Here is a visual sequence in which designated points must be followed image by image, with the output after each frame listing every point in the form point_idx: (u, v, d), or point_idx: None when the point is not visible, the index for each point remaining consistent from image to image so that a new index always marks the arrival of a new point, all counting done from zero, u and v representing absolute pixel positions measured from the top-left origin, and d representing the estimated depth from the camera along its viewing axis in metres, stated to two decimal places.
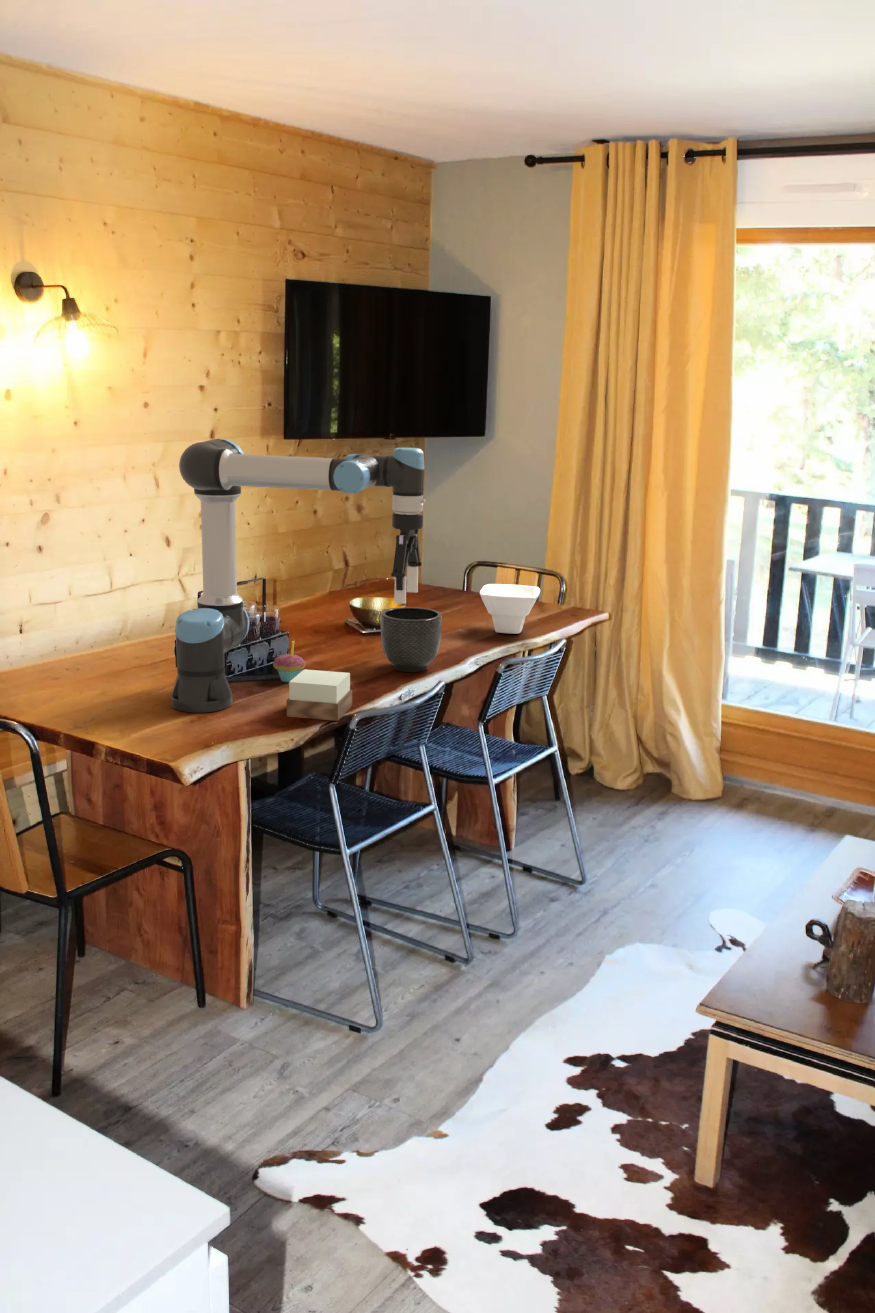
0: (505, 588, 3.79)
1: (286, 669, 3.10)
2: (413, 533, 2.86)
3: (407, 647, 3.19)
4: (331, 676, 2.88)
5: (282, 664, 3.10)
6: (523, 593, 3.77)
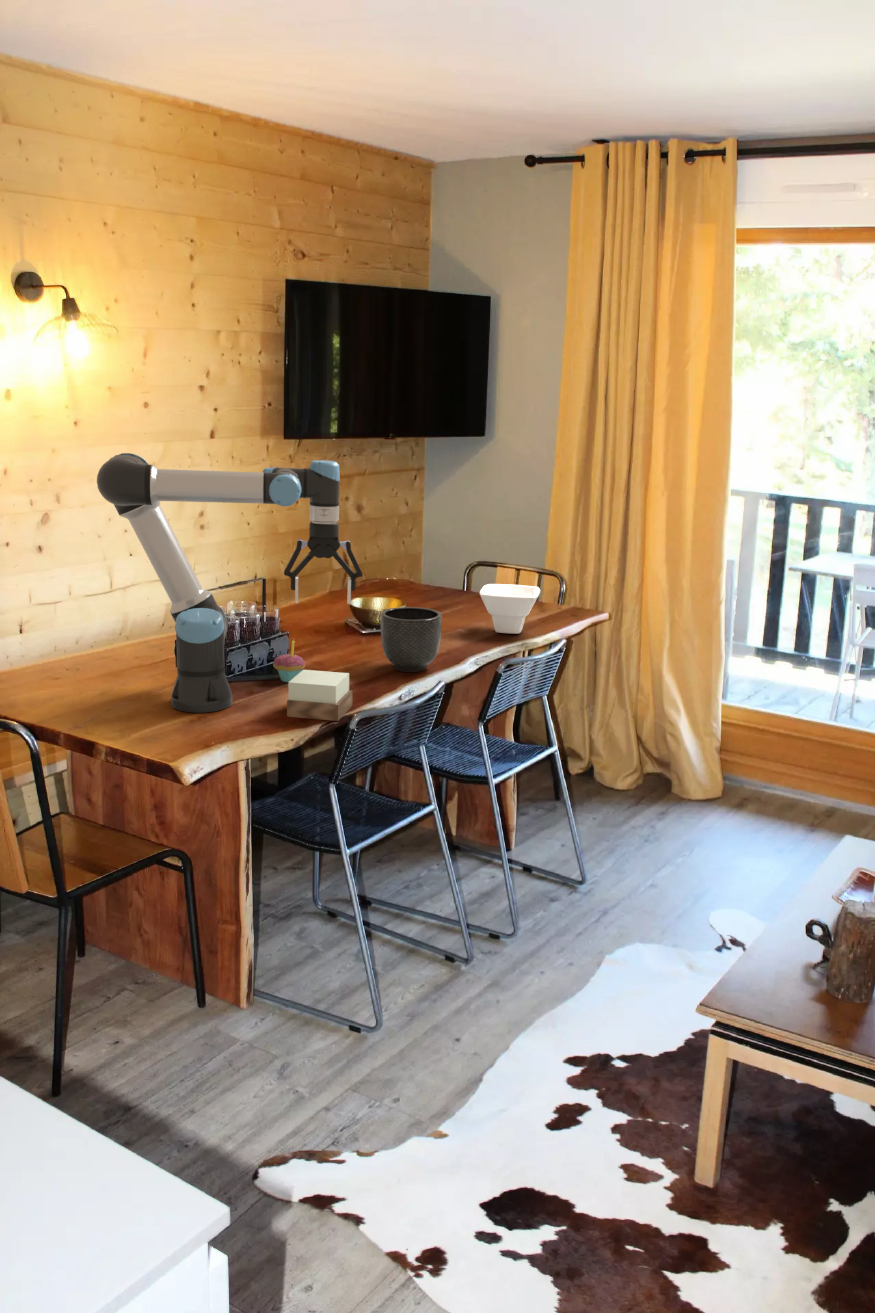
0: (505, 588, 3.79)
1: (286, 669, 3.10)
2: (331, 543, 2.98)
3: (407, 647, 3.19)
4: (330, 677, 2.88)
5: (282, 664, 3.10)
6: (523, 593, 3.77)
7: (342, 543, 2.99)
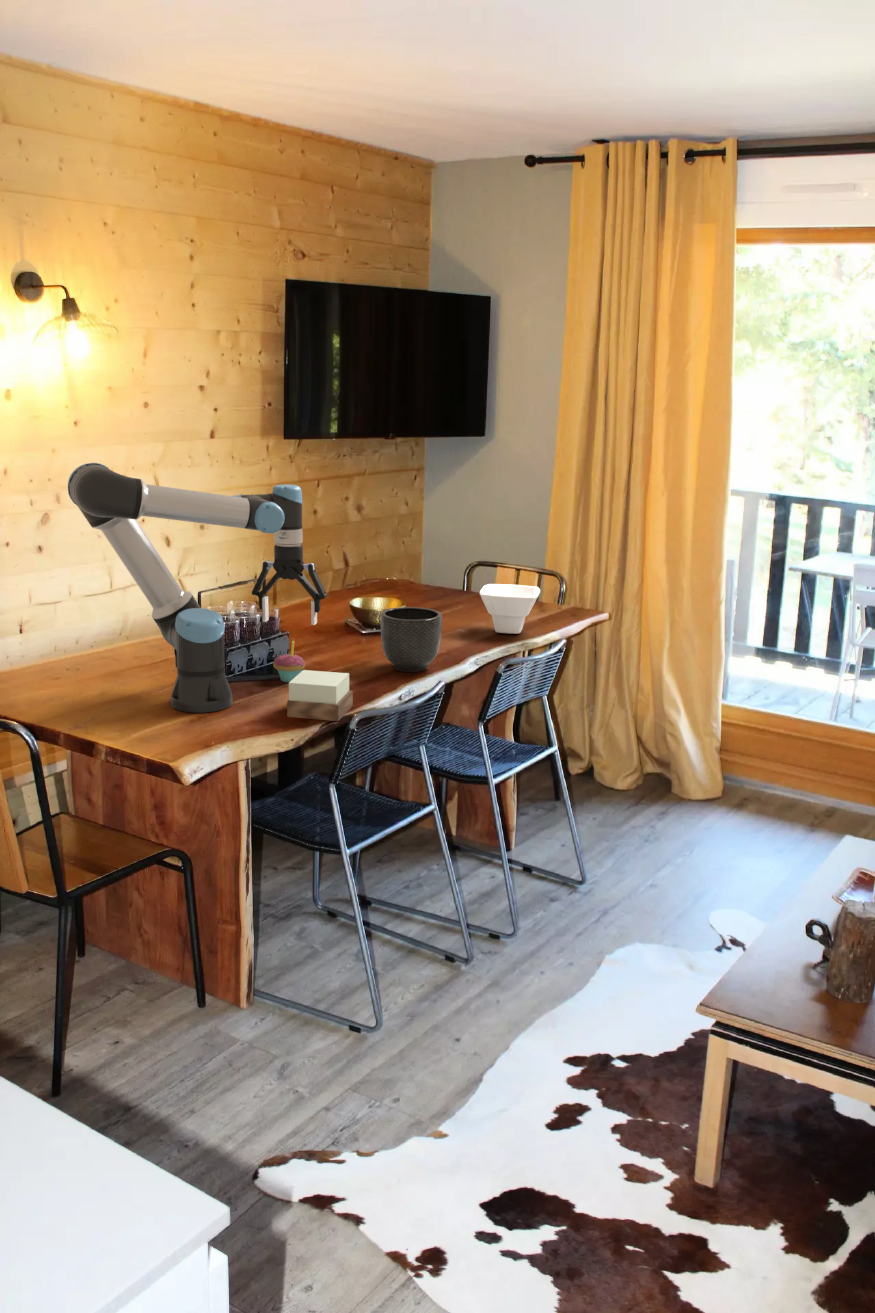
0: (505, 588, 3.79)
1: (286, 669, 3.10)
2: (294, 565, 3.05)
3: (407, 647, 3.19)
4: (330, 677, 2.88)
5: (282, 664, 3.10)
6: (523, 593, 3.77)
7: (305, 565, 3.05)
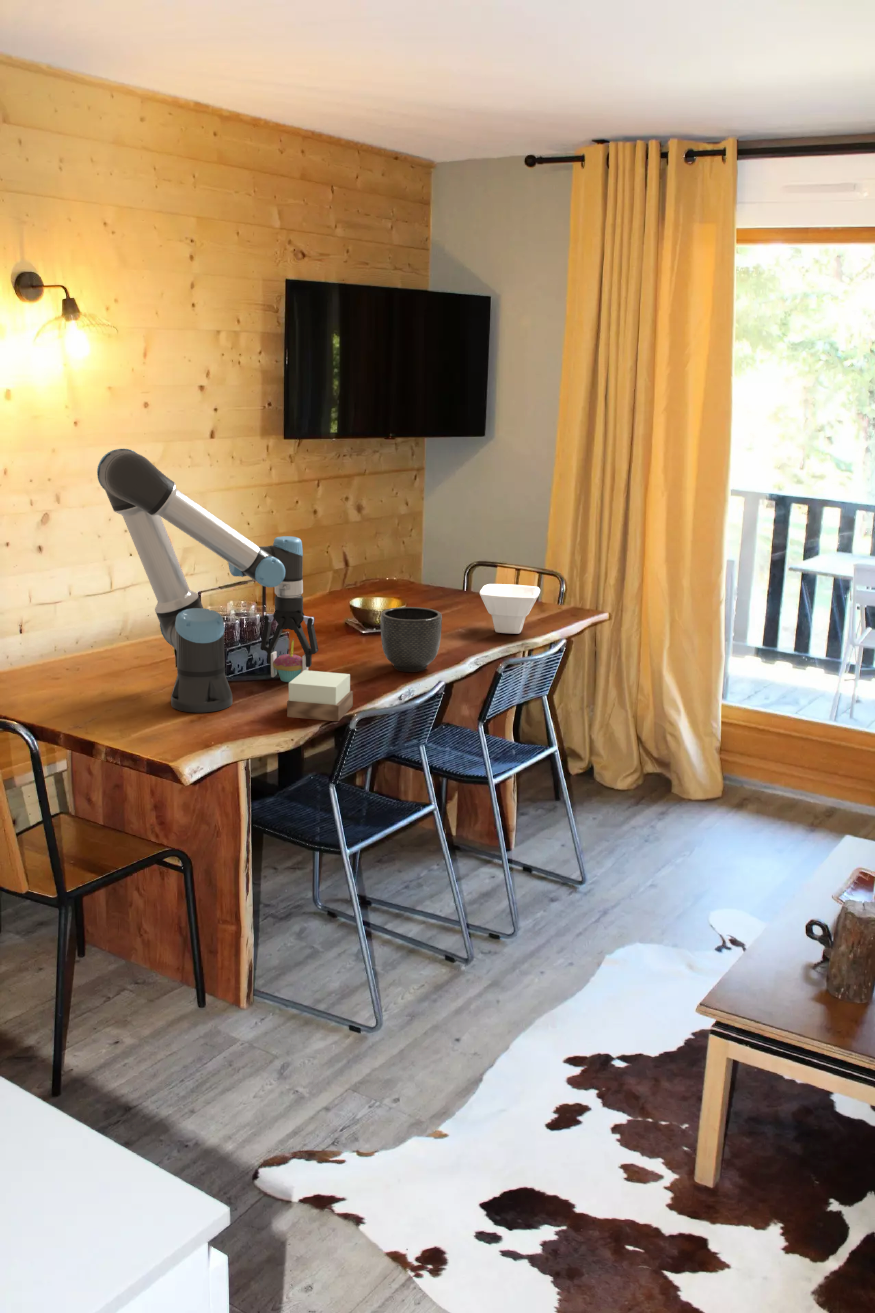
0: (505, 588, 3.79)
1: (286, 669, 3.10)
2: (294, 615, 3.09)
3: (407, 647, 3.19)
4: (331, 677, 2.87)
5: (282, 664, 3.10)
6: (523, 593, 3.77)
7: (305, 618, 3.09)
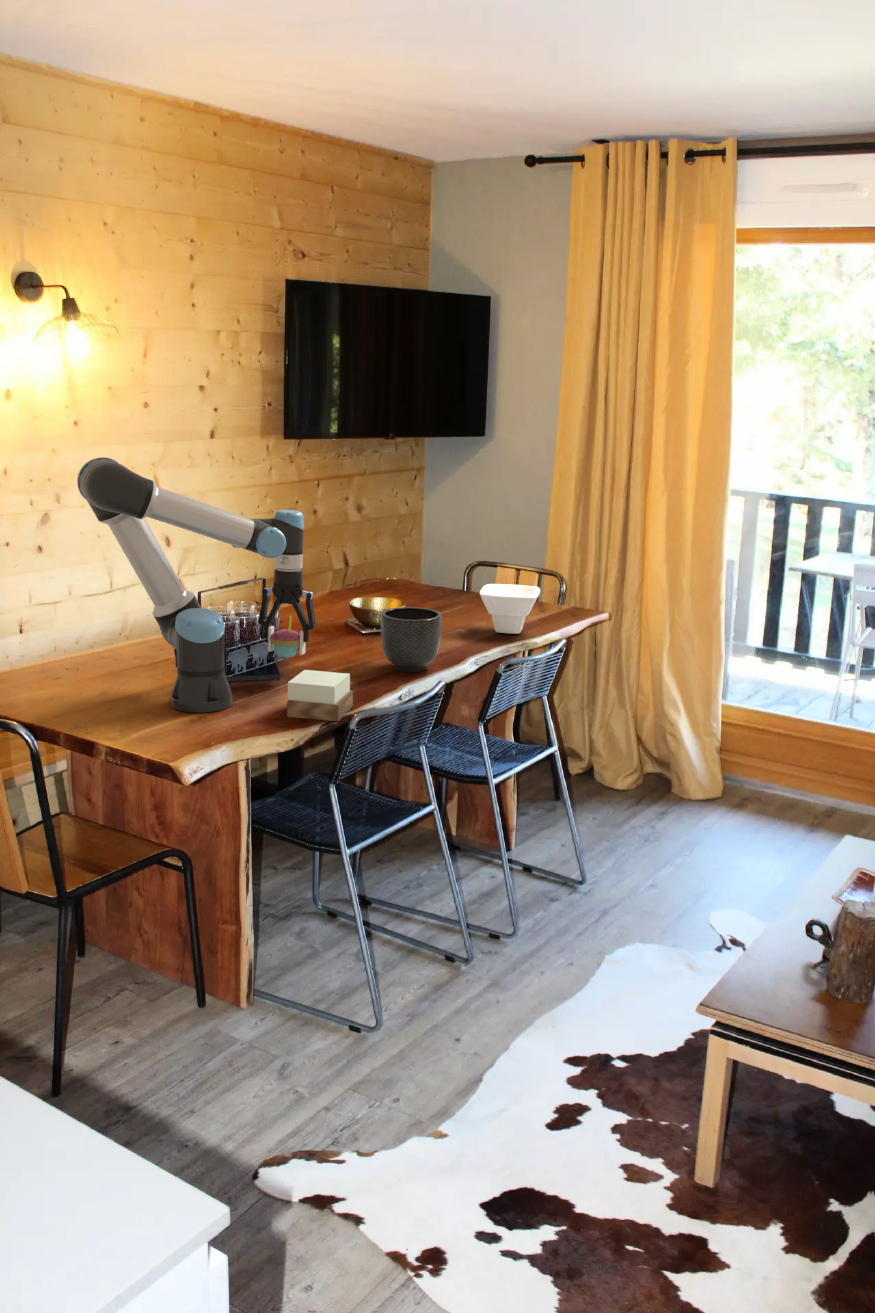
0: (505, 588, 3.79)
1: (283, 643, 3.08)
2: (293, 589, 3.07)
3: (407, 647, 3.19)
4: (330, 677, 2.87)
5: (279, 638, 3.08)
6: (523, 593, 3.77)
7: (304, 592, 3.07)
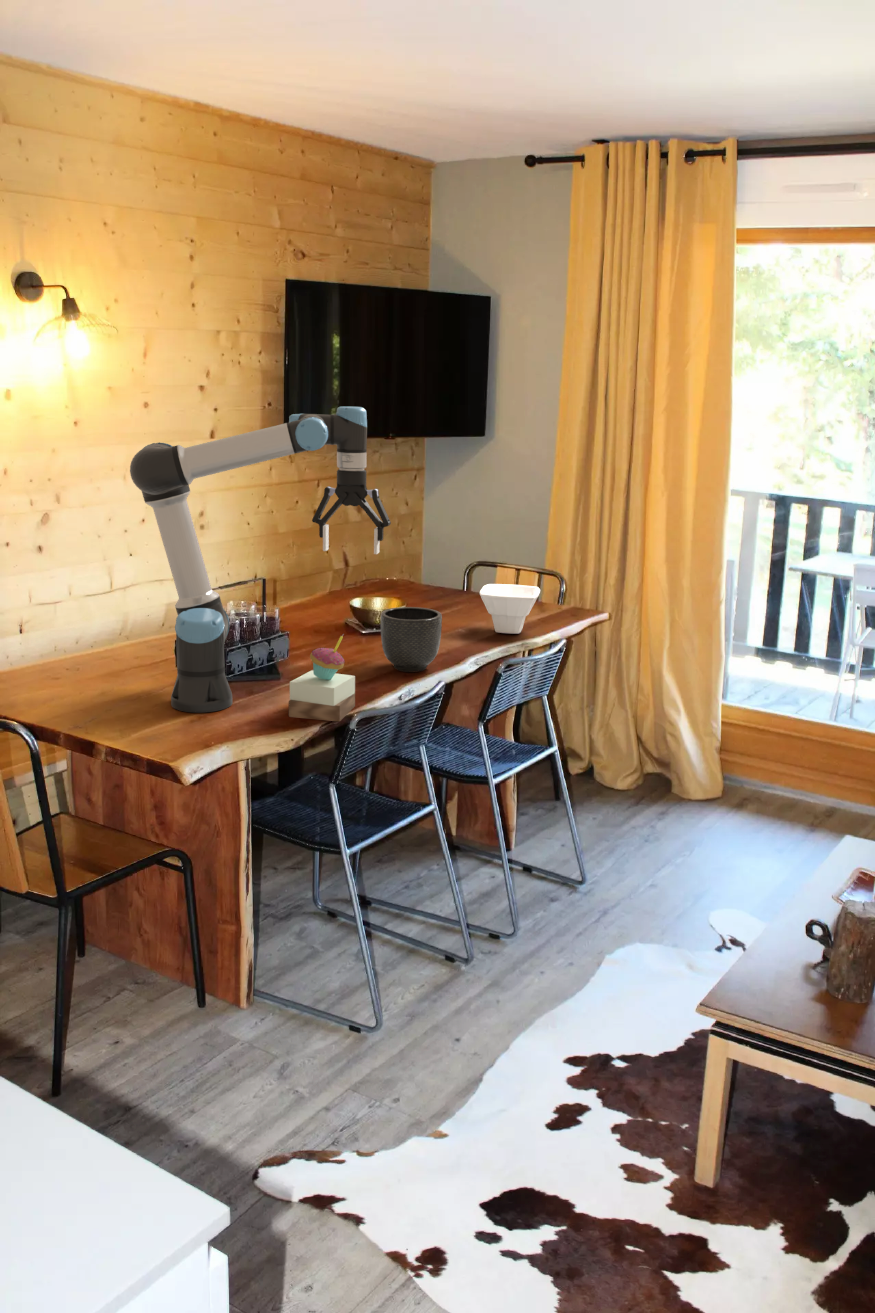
0: (505, 588, 3.79)
1: (336, 668, 2.82)
2: (357, 491, 2.94)
3: (407, 647, 3.19)
4: (334, 678, 2.87)
5: (333, 662, 2.81)
6: (523, 593, 3.77)
7: (369, 491, 2.94)
